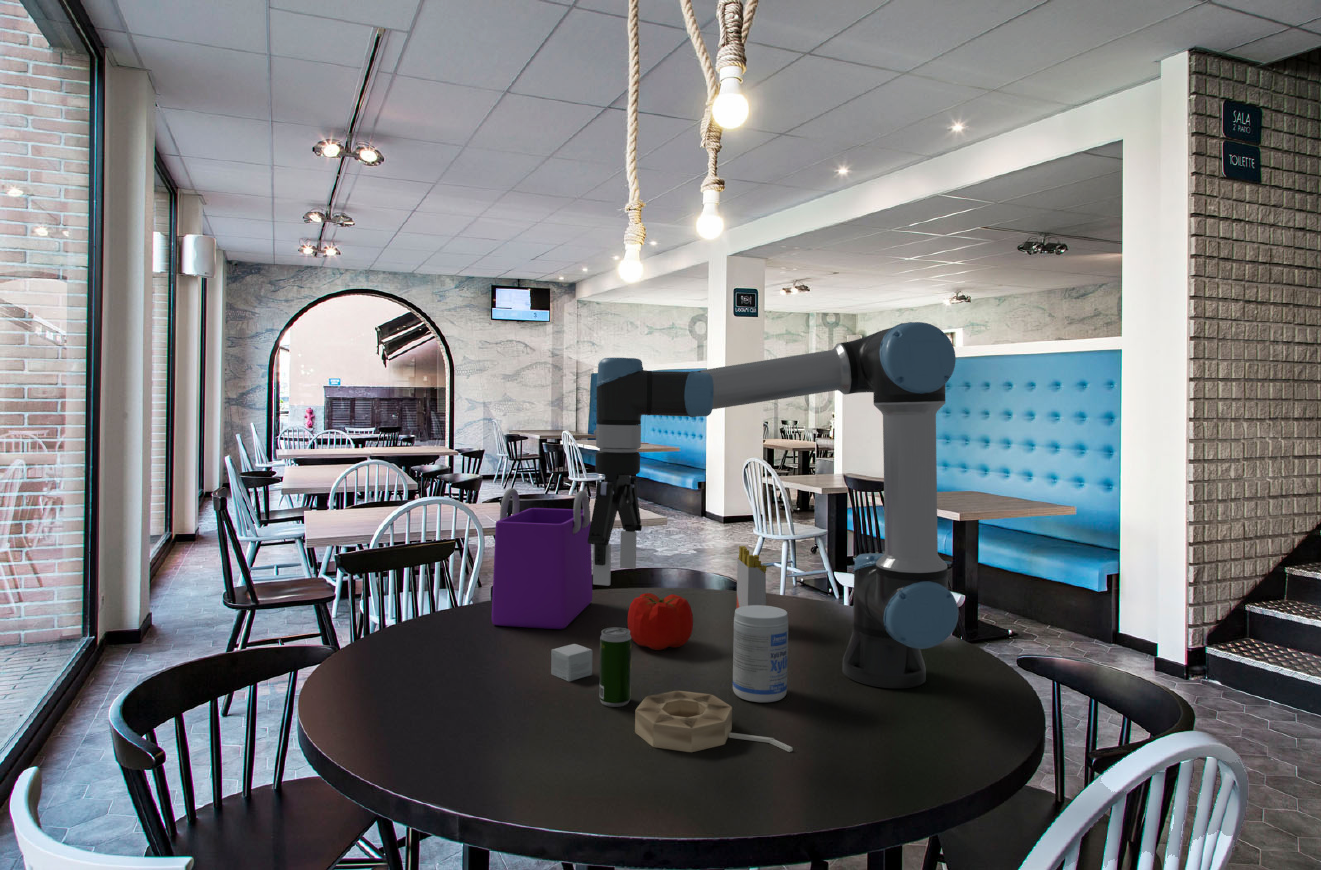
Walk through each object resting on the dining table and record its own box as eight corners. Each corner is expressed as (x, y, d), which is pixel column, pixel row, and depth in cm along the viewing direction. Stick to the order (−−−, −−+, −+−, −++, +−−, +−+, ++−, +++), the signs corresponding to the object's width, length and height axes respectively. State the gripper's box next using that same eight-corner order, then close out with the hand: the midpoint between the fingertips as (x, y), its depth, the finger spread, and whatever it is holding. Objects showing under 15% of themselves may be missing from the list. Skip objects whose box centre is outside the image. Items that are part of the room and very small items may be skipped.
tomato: (617, 650, 159) (618, 599, 159) (642, 633, 172) (643, 586, 171) (679, 659, 154) (680, 607, 154) (701, 641, 166) (702, 592, 166)
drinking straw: (794, 743, 116) (794, 740, 116) (792, 752, 113) (792, 749, 113) (729, 735, 119) (729, 732, 119) (725, 743, 116) (725, 740, 116)
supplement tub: (782, 707, 130) (784, 620, 130) (726, 700, 133) (728, 615, 132) (790, 688, 139) (792, 606, 139) (738, 681, 142) (740, 602, 142)
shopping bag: (587, 631, 173) (588, 496, 171) (488, 631, 172) (489, 495, 171) (593, 599, 201) (594, 484, 200) (508, 599, 200) (508, 483, 199)
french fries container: (754, 620, 183) (756, 544, 183) (767, 633, 173) (768, 553, 172) (736, 620, 183) (737, 544, 182) (746, 633, 172) (748, 553, 171)
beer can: (609, 709, 128) (609, 637, 128) (593, 699, 133) (594, 629, 132) (636, 703, 131) (637, 633, 131) (620, 693, 136) (621, 625, 135)
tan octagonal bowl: (736, 718, 125) (736, 697, 125) (719, 756, 112) (719, 732, 112) (652, 708, 129) (653, 687, 129) (626, 743, 115) (626, 720, 115)
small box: (574, 667, 149) (574, 642, 148) (593, 675, 145) (593, 649, 144) (549, 674, 145) (550, 648, 144) (568, 682, 141) (569, 656, 140)
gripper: (620, 446, 143) (618, 560, 144) (568, 453, 119) (566, 590, 120) (659, 447, 141) (657, 563, 142) (614, 455, 117) (612, 594, 118)
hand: (615, 576), depth 131 cm, fingers open, 13 cm apart
